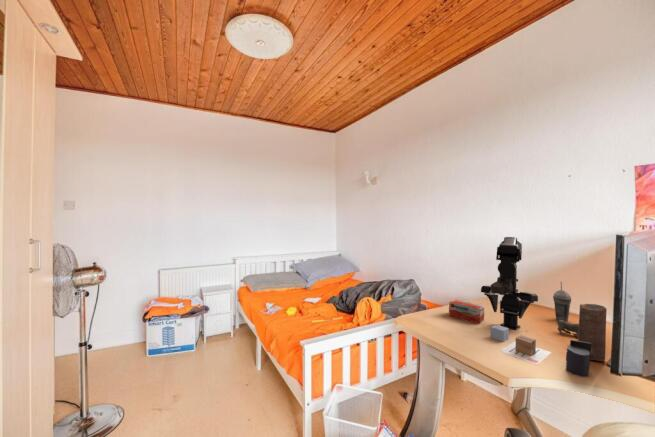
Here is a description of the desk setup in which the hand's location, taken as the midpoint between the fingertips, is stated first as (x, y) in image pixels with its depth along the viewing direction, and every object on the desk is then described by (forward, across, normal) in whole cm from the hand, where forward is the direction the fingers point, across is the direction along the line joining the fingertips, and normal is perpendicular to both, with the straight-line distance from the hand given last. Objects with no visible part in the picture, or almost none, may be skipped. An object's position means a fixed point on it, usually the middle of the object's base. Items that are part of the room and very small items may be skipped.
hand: (507, 315), depth 106 cm
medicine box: (+10, -30, +19) cm, 37 cm away
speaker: (+14, +20, +5) cm, 25 cm away
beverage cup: (+7, -4, +61) cm, 62 cm away
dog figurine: (+10, +7, +42) cm, 44 cm away
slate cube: (+12, -7, +9) cm, 17 cm away
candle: (+12, +18, +22) cm, 31 cm away
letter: (+13, +4, +5) cm, 15 cm away
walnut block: (+13, +4, +5) cm, 14 cm away
